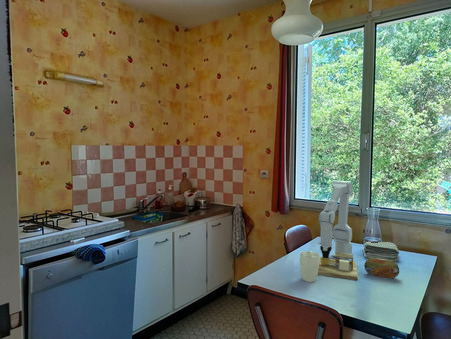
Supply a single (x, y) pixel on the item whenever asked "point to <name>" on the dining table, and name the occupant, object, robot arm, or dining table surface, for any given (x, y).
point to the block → (344, 264)
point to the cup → (309, 265)
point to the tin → (381, 268)
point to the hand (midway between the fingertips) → (325, 260)
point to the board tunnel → (334, 270)
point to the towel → (381, 251)
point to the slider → (327, 263)
